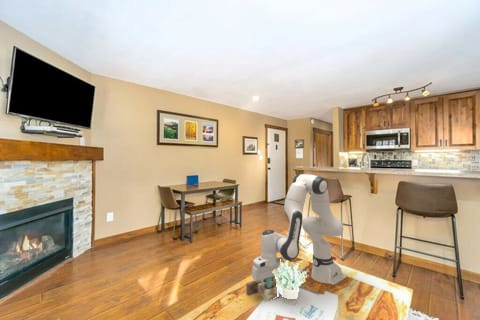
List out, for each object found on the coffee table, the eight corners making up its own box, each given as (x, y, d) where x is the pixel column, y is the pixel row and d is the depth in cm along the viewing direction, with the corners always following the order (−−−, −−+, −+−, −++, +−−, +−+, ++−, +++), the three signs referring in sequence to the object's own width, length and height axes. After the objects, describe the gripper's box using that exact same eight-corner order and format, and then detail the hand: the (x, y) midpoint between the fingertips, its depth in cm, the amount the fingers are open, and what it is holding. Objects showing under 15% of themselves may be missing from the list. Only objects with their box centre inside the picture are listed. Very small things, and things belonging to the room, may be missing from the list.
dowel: (269, 291, 128) (269, 275, 128) (272, 294, 125) (272, 277, 125) (265, 292, 127) (264, 276, 127) (268, 295, 124) (267, 279, 124)
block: (271, 288, 132) (271, 280, 132) (279, 297, 124) (279, 288, 124) (257, 292, 128) (257, 283, 128) (266, 301, 120) (266, 291, 120)
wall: (278, 284, 136) (278, 275, 137) (280, 286, 135) (280, 276, 135) (246, 293, 127) (246, 283, 127) (247, 295, 125) (247, 284, 126)
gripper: (280, 254, 133) (280, 277, 133) (250, 260, 125) (250, 285, 125) (287, 258, 128) (287, 282, 127) (255, 265, 119) (256, 291, 119)
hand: (268, 284), depth 126 cm, fingers open, 6 cm apart
